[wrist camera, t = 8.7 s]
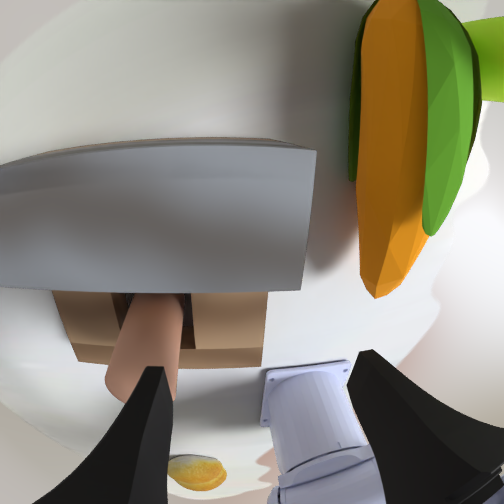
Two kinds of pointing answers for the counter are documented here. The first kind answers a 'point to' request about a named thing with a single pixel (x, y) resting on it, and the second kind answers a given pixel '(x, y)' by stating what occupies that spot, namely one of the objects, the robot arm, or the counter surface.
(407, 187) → the corn
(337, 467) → the robot arm
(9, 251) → the socket station
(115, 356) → the peg
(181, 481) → the bread roll
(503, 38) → the soap dispenser
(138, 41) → the counter surface
